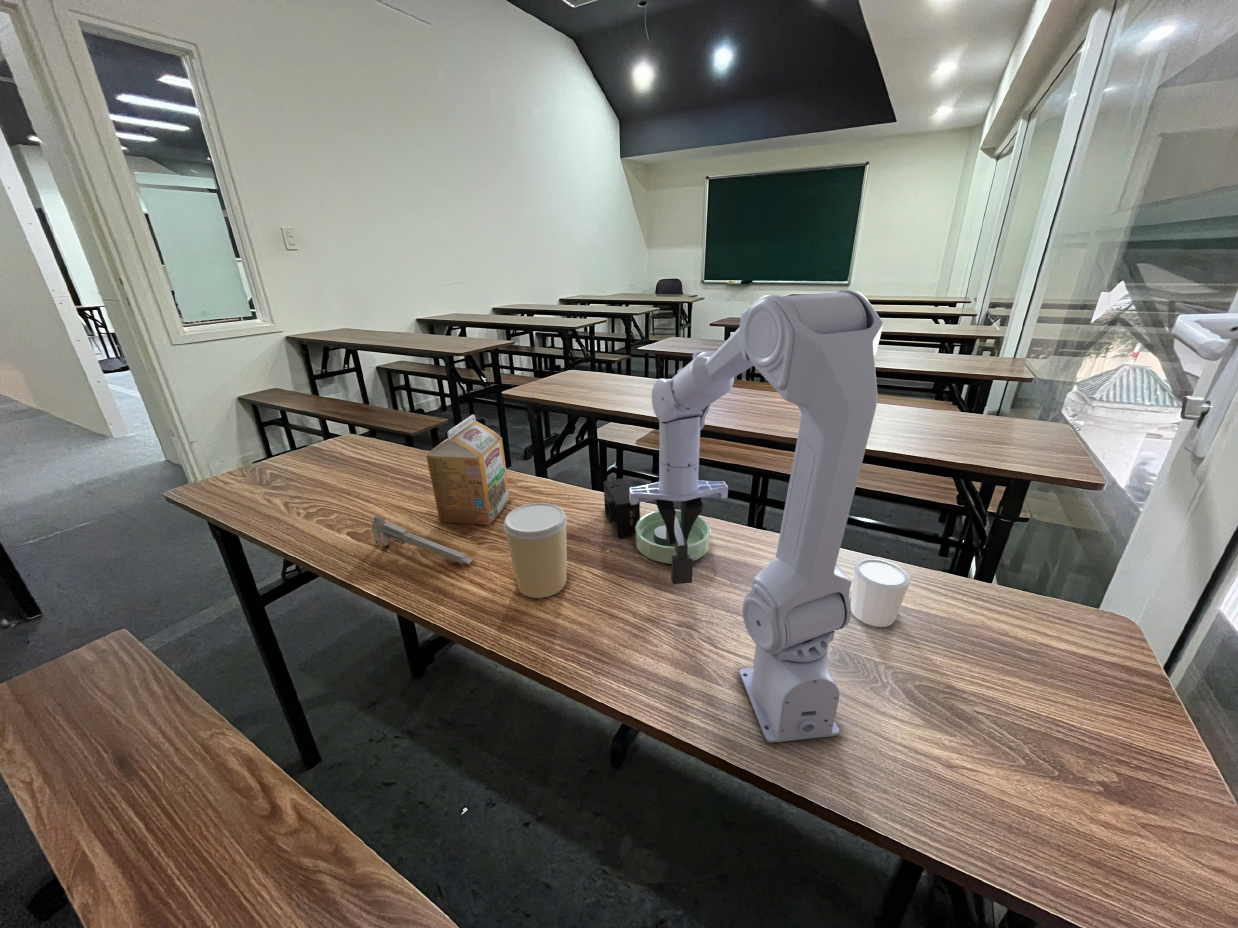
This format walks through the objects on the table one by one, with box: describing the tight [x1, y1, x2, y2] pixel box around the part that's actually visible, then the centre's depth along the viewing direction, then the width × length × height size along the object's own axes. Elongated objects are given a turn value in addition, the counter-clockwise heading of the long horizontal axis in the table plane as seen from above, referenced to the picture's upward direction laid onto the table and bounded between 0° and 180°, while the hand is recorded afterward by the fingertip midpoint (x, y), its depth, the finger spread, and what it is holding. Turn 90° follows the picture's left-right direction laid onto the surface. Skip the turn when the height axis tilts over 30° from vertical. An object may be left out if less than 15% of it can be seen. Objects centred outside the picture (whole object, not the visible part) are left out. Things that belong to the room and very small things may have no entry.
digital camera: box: [603, 478, 641, 539], centre depth 91 cm, size 10×5×7 cm, turn 15°
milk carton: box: [425, 414, 511, 526], centre depth 95 cm, size 11×11×19 cm
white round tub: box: [850, 557, 911, 628], centre depth 66 cm, size 7×7×7 cm
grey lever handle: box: [654, 515, 694, 585], centre depth 78 cm, size 15×5×7 cm, turn 5°
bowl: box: [634, 509, 712, 565], centre depth 84 cm, size 13×13×4 cm
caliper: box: [371, 513, 473, 565], centre depth 83 cm, size 20×1×6 cm, turn 70°
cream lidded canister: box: [503, 502, 568, 599], centre depth 74 cm, size 9×9×12 cm
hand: (677, 540), depth 75 cm, fingers closed on grey lever handle
